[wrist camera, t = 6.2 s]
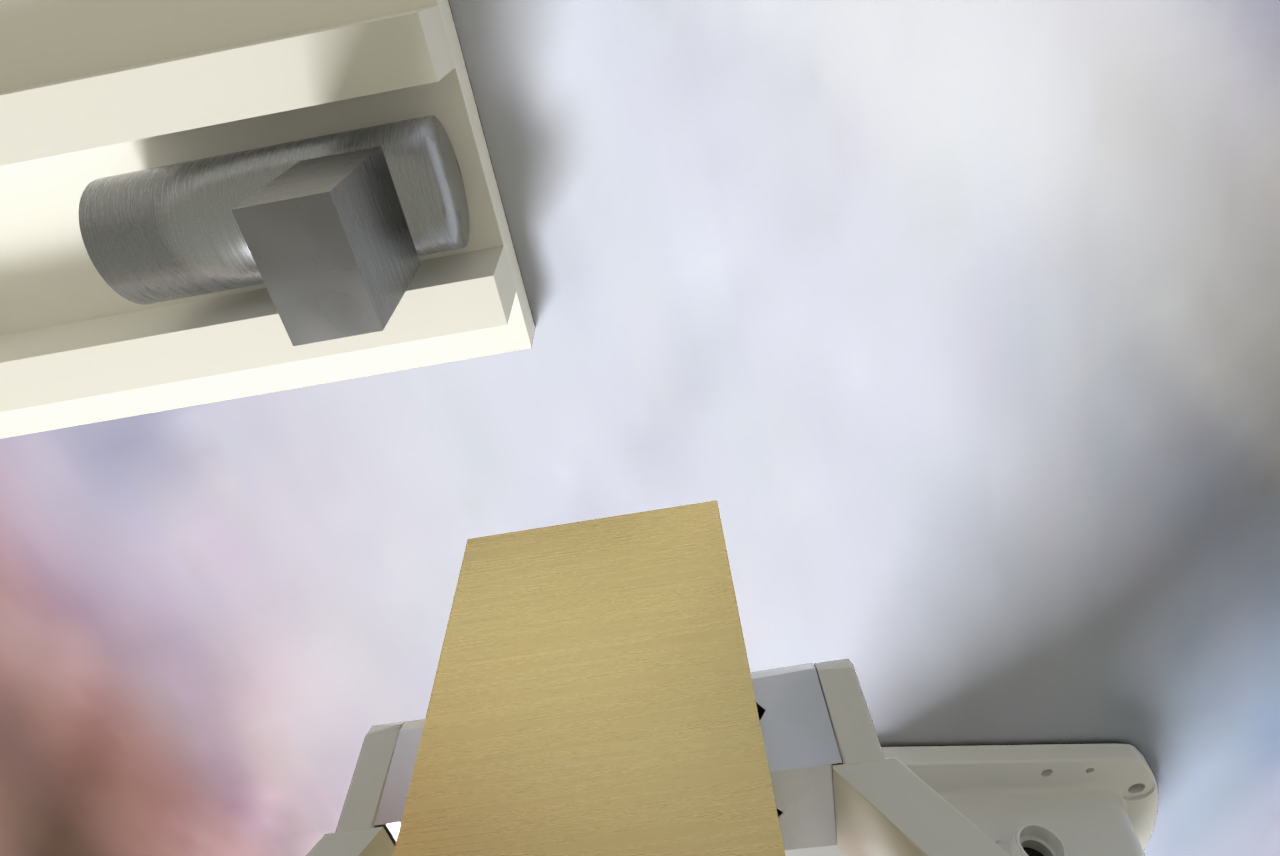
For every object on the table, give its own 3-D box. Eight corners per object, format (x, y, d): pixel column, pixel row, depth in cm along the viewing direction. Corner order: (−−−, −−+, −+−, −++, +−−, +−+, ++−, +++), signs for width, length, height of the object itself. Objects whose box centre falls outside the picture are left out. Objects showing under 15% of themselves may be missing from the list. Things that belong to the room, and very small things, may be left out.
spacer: (716, 500, 12) (794, 905, 7) (742, 671, 14) (815, 1076, 9) (467, 539, 12) (368, 958, 7) (529, 701, 14) (485, 1112, 9)
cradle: (425, -85, 20) (388, -91, 17) (535, 328, 27) (524, 384, 23) (-341, 73, 22) (-518, 97, 18) (-62, 431, 28) (-155, 498, 25)
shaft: (441, 104, 21) (370, 172, 15) (476, 225, 23) (426, 332, 17) (128, 164, 22) (-67, 254, 15) (186, 277, 23) (33, 400, 17)
